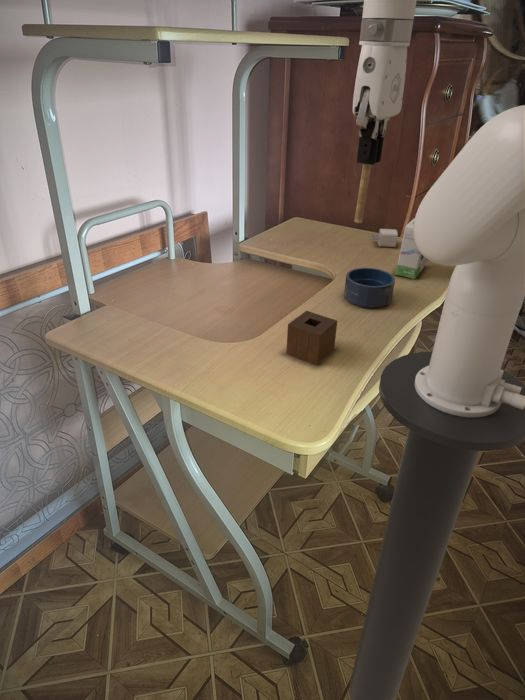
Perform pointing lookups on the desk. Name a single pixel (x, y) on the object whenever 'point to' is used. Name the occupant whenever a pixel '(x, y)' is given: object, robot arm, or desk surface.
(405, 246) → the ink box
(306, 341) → the holder
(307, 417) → the desk surface
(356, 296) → the bowl
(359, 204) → the stick
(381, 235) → the usb wall charger
